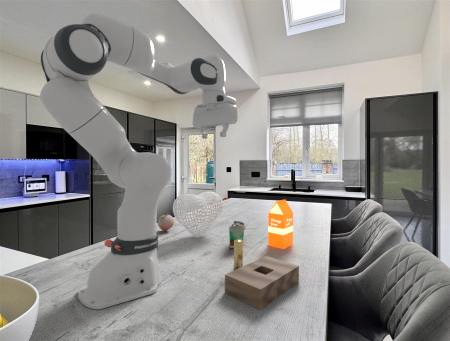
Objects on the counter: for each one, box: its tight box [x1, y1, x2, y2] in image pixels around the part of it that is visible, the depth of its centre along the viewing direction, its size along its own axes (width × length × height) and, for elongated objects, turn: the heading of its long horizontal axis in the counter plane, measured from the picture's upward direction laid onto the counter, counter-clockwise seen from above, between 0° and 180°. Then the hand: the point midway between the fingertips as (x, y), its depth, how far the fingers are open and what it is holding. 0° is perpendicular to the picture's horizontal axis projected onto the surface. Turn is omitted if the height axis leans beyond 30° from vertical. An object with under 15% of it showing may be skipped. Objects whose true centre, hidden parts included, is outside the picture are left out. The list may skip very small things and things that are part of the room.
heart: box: [172, 190, 224, 239], centre depth 122 cm, size 28×16×22 cm, turn 140°
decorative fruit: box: [157, 212, 175, 232], centre depth 133 cm, size 9×8×10 cm
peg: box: [233, 239, 244, 271], centre depth 84 cm, size 3×3×10 cm
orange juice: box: [267, 199, 294, 250], centre depth 112 cm, size 8×9×20 cm
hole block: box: [224, 255, 300, 310], centre depth 72 cm, size 20×12×5 cm, turn 137°
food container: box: [228, 220, 246, 251], centre depth 109 cm, size 12×6×10 cm, turn 168°
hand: (213, 137), depth 96 cm, fingers open, 8 cm apart
